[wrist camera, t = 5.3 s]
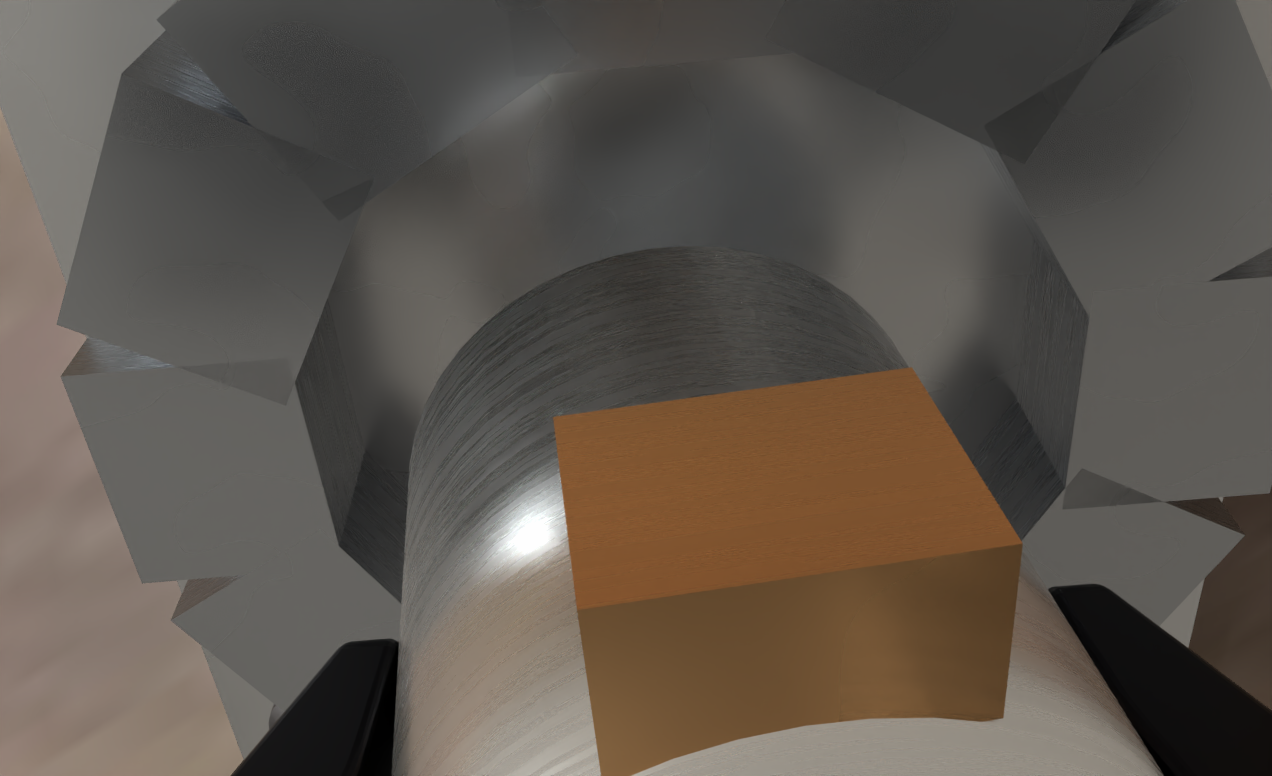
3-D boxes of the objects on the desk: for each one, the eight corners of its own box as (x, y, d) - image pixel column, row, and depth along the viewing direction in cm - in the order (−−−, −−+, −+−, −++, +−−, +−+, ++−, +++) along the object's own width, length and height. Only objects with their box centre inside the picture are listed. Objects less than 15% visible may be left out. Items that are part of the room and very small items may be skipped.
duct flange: (1155, 675, 16) (1228, 812, 14) (262, 744, 16) (219, 889, 14) (1387, -395, 10) (1575, -398, 8) (-98, -260, 10) (-255, -231, 8)
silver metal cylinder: (912, 633, 12) (1249, 1368, 7) (455, 702, 12) (453, 1520, 7) (939, 106, 9) (1548, 693, 4) (335, 182, 9) (170, 915, 4)
